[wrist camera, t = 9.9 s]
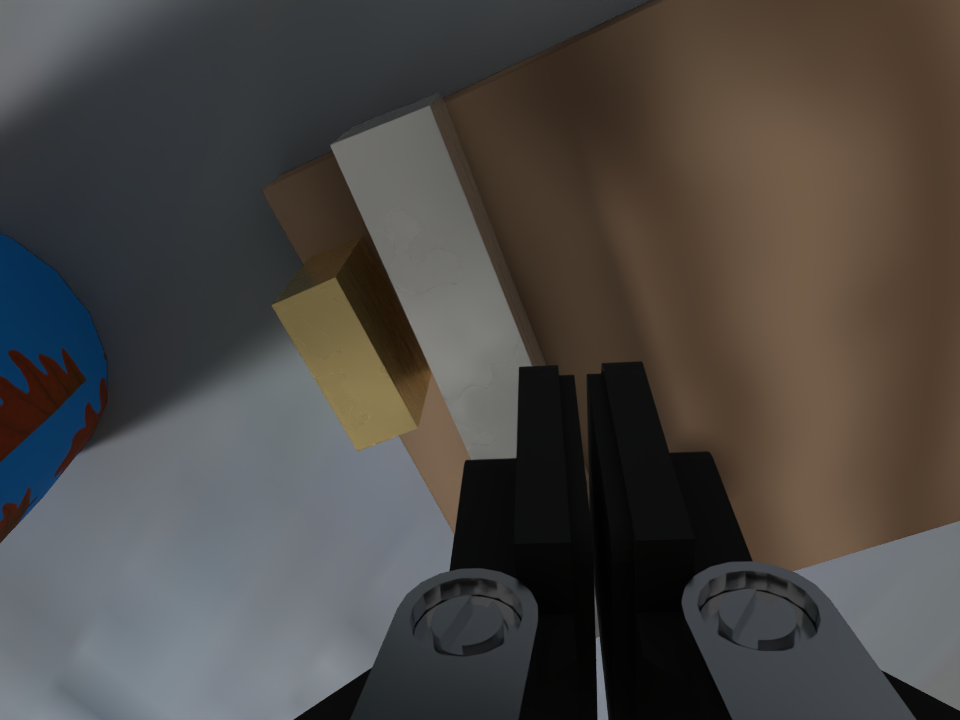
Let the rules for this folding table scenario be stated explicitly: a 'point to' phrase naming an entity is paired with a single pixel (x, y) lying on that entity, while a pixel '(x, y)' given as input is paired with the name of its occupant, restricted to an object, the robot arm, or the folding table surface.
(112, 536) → the folding table surface
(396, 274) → the lock bar
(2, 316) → the thermos
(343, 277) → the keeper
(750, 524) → the plate
